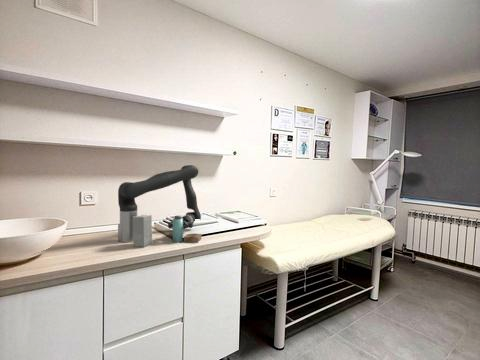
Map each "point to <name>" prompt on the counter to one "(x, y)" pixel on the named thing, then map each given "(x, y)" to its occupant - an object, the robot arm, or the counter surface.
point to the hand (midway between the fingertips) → (176, 227)
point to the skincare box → (142, 230)
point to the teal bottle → (177, 229)
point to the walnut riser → (192, 238)
